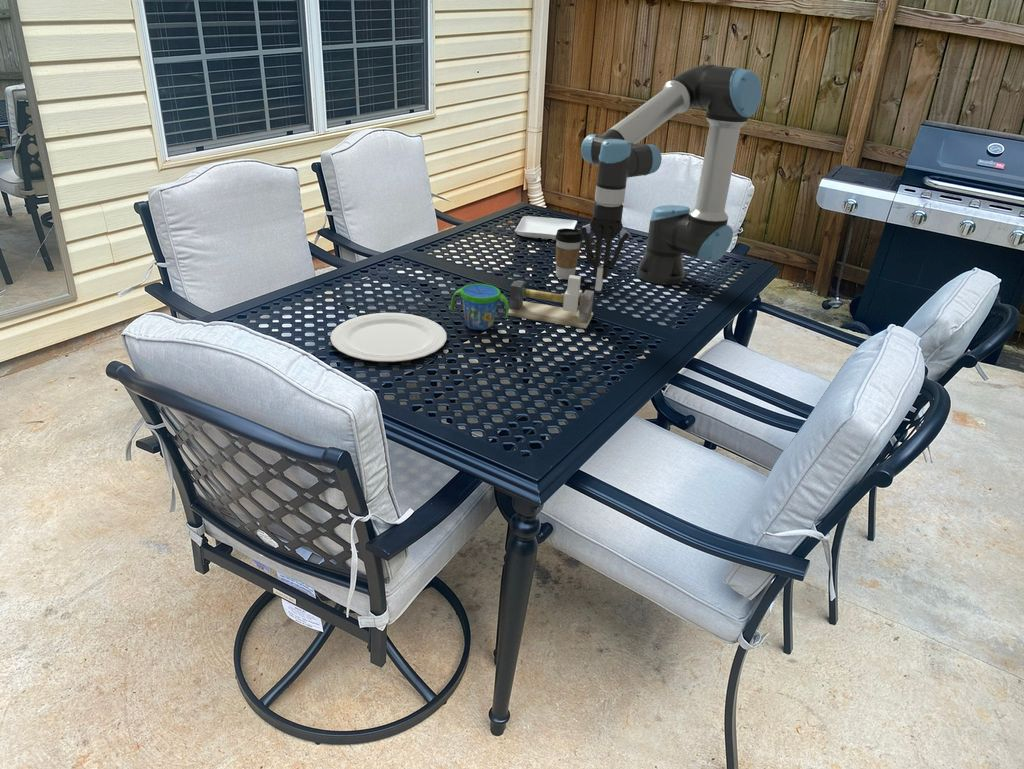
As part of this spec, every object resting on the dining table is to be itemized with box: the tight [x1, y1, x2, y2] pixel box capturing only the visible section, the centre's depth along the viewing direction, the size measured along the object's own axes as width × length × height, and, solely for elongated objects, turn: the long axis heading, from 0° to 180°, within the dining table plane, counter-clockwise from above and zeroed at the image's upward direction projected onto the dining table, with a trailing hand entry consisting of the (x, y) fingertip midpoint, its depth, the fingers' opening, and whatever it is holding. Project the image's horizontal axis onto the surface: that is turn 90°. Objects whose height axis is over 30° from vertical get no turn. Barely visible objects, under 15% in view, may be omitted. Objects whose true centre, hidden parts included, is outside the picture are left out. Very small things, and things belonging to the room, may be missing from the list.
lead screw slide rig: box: [507, 280, 595, 329], centre depth 207 cm, size 23×10×8 cm, turn 74°
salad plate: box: [514, 215, 578, 241], centre depth 277 cm, size 21×21×3 cm
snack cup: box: [450, 283, 509, 331], centre depth 197 cm, size 16×10×10 cm
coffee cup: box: [555, 228, 583, 280], centre depth 234 cm, size 8×8×15 cm
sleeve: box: [562, 274, 583, 313], centre depth 203 cm, size 4×5×9 cm
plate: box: [330, 312, 448, 363], centre depth 188 cm, size 29×29×2 cm
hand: (598, 289), depth 201 cm, fingers closed
